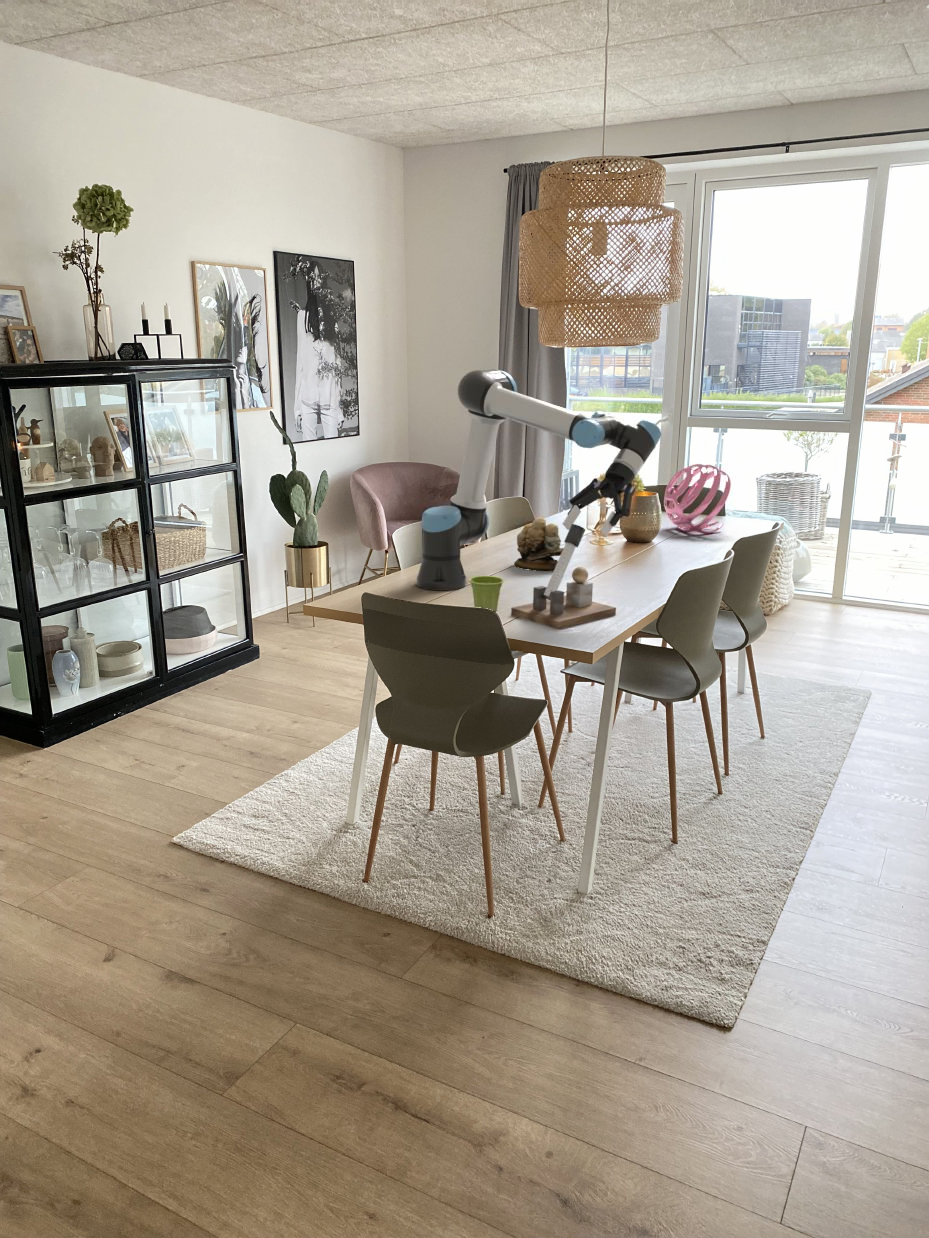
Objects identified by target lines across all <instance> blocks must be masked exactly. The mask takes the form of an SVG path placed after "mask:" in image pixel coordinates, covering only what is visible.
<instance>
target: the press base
mask: <svg viewBox="0 0 929 1238" xmlns="http://www.w3.org/2000/svg"><path fill="white" fill-rule="evenodd" d="M593 586H594V583H593V582H589V581H587V580H586V581H585V582H583V583H577V582H575V581H574V580H572V581H567V582H566V593H565V591H562V590H558V589H557V591H553V592H551V593H550V600H548V599H544V598H542V594H543V593H545V590H546V588H547V586H543V585H540V586H535V587H533V588H532V589H533V591H532V592H533V595H532V596H533V597H532V599H533V600H532V602H531V603H526V604H523V605H522V604H521V605H518V606H513V607H511V609H510V610H511V612H510V614H511V616H512V617H513V616H514V617H518V618H521V619H524V620H527V621H530V622H534V623H537V624H541V625H543V626H547V627H550V628H554V629H557V630H562V629H565V628H568V627H573V626H577V625H581V624H585V623H589V622H593V621H597V620H600V619H605V618H607V617H613V616H616V615H617V614H616V613H617V607H616V606H611V605H609V604H604V603H600V602H595V601H593V591H594V590H593ZM565 594H566V595H565Z"/></svg>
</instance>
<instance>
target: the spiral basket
mask: <svg viewBox="0 0 929 1238" xmlns="http://www.w3.org/2000/svg"><path fill="white" fill-rule="evenodd" d="M696 467H697V468H696ZM693 468H695V469H694V470H693ZM708 469H712V471H710V472H708ZM685 474H686V476H685V478H683V479H682V481H681V482H680V483H679V484H678V485H677V487H676V488H675V485H676V484H677V482H679V480H680V479H681V478H682V476H684V475H685ZM697 474H700V475H699V479H698V480H696V481H695V482H694V483H693V484H692V486H690V485H691V482H692V480H693V478H694V477H695V476H696V475H697ZM721 475H723V476H724V477H725V486H724V490H723V493H722V495H721V496H720V499H719V501H718V502H717V504H716V506H715V507H714V508H713V509H712V510H711V512H710V513H709V514H708V515H707V516H706V517H705V518H704V519H703V520H702V521H700V522H699V523H697V524H694V523H693V521H694V520H695V519H696V518H697V517H699V516H700V515H701V514H702V513H703V512H704V511H705V510H706V508H707V507H708V506H709V505H710V504H711V502H712V500H713V499H714V497H715V496H716V495H717V492H718V489H719V487H720V484H721V477H722V476H721ZM712 478H713V481H712V485H711V488H710V490H709V491H708V493H707V494H706V496H705V498H704V499H703V500H702V501H701V503H700V504H699V505H698V506H697V507H696V509H694V510H693V511H692V512H691V513H690V514H688V515H685V513H684V510H685V509H687V508H688V507H690V505H691V504H692V503H693V502H694V501H695V500H696V499H697V498H698V496H699V495H700V493H701V491H702V490H703V488H704V486H705V484H706V482H707V481H708V480H710V479H712ZM730 478H731V477H730V476H729V475H728V474H727V473H726V472H725V471H723V470H720V469H719V468H718V467H717V466H715V465H712V464H702V463H695V464H692V465H689V466H688V467H684V468H682V469H680V470H679V471H678V472H676V473H675V474H674V475H673V476H672V477H671V479H670V480H669V482H668V483H667V485H666V488H665V492H664V497H663V498H664V499H663V506H664V510H665V512H666V515H667V517H668V519H669V521H670V522H671V523H672V524H673V525H676V527H677V528H678V529H679V530H680V531H682V532H683V533H699V534H704V535H705V534H706V535H707V534H708V535H709V534H713V533H716V532H718V531H719V530H721V528H722V527H723V525H724V522H721V523H720V521H718V520H717V521H715V522H712V523H710V522H711V521H713V519H714V518H715V517H716V516H717V515H718V514H719V512H720V511H721V510H722V508H723V507H724V505H725V503H726V501H727V499H728V498H729V495H730V492H731V485H732V483H731V479H730ZM689 486H690V487H689ZM688 487H689V489H688ZM686 490H687V491H686ZM685 491H686V493H684V492H685ZM683 493H684V495H683ZM682 495H683V497H682V498H681V501H680V502H679V501H678V498H679V497H680V496H682ZM668 501H669V502H668ZM667 503H668V504H667ZM719 523H720V525H719V526H718V527H716V528H715V529H713V530H704V529H708V528H711V527H713V526H716V525H717V524H719Z"/></svg>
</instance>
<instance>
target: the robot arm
mask: <svg viewBox="0 0 929 1238" xmlns="http://www.w3.org/2000/svg"><path fill="white" fill-rule="evenodd" d="M517 388H518V387H517V384H516V381H515V380H514V378H513V376H512V375H511V374H509V373H508V372H506V371H503V370H500V369H493V368H492V369H482V370H481V369H478V370H477V369H476V370H471V371H469V372H468V373H466V374H465V375H463V376H462V377H461V379H460V381H459V383H458V387H457V396H458V399H459V401H460V403H461V404H462V405H461V406H463V407H464V408H465V409H467V414H469V416H470V417H471V419H470V420H471V421H470V425H469V430H468V434H467V435H468V436H467V439H466V444H465V450H464V454H463V460H462V464H461V470H460V474H459V480H458V485H457V489H456V493H455V494H454V495H453V496H451V497H450V499H449V505H439V506H433V507H429V508H428V509H426V510H424V511H423V513H422V516H421V517H422V518H421V553H422V554H421V555H422V558H421V559H422V560H421V563H420V566H419V570H418V574H417V576H416V585H417V587H418V588H421V589H423V590H424V589H425V590H433V591H452V590H457V589H462V588H465V586H467V578H466V577H467V576H466V573H465V571H464V566H463V563H462V560H461V546H463V545H468V544H473V543H475V542H477V541H479V540H480V539H481V538H482V537H484V536H485V534H486V533H487V531H488V528H489V525H490V520H489V519H490V518H489V515H488V514H487V508H488V506H487V503H486V502H485V500H484V499H485V494H486V489H487V483H488V480H489V479H488V478H489V475H490V469H491V465H492V461H493V456H494V451H495V446H496V443H497V442H496V441H497V436H498V432H499V428H500V424H502V423H503V422H505V421H506V419H509V420H511V421H514V422H517V423H520V424H522V425H526V426H529V427H532V428H534V429H537V430H539V431H543V432H546V433H550V434H552V435H554V436H558V437H561V438H564V439H567V440H569V441H572V442H574V443H575V444H576V445H577V446H578V447H580V448H584V449H594V448H596V447H599V446H605V445H609V446H612V447H614V448H617V449H619V452H618V453H617V455H616V456H615V457H614V458H613V461H612V462H611V464H610V465H609V467H608V468H607V469H606V471H605V475H604V479H602V481H600V480H598V478H596V477H595V478H593V479H592V480H591V482H590V483H589V484H587V486H585V487H584V488H583V489H581V490H580V491H579V492H578V493H577V494H575V495H574V496H572V498H571V499H569V503H570V505H571V508H570V510H569V511H568V512H567V516H566V518H565V519H564V520H563V522H562V525H563V526H564V527H565V529H566V530H567V531H569V529H570V527H571V525H572V524H575V523H576V522H575V521H576V520H577V518H578V517H579V516H580V514H581V513H582V511H581V510H582V509H583V508H586V507H587V506H589V505H590V504H592V503H593V502H595V501H597V500H602V499H604V498H605V499H611V500H613V505H614V511H611V512H610V514H609V515H608V517H607V519H606V520H605V521H604V523H603V525H602V526H601V528H599V532H600V534H601V535H602V536H603V538H607V537H608V535H609V533H610V532H611V531H612V529H613V527H616V525H617V524H618V522H619V521H620V519H622V518H623V517H626V518H628V517H630V515H631V509H632V501H633V495H634V493H635V492H636V488H635V487H634V485H633V484H632V483H633V481H634V480H635V478H636V477H637V475H638V473H639V472H640V470H641V469H642V468H643V466H644V464H645V463H646V461H647V460H648V458H649V456H651V454H652V453H653V451H654V450H655V449H656V446H657V444H658V443H659V441H660V439H661V437H662V432H661V429H660V428H659V426H658V425H657V424H656V423H654V422H652V421H651V420H647V419H646V420H644V419H643V420H640V421H639V422H638V423H636V424H634V423H630V422H628V421H625V420H623V419H622V418H621V419H620V418H619V417H617V416H613V415H611V414H610V413H607V412H604V411H601V410H598V411H595V412H594V413H593V414H591V416H588V415H586V414H582V413H580V412H577V411H575V410H574V411H573V410H571V409H569V408H568V409H567V408H564V407H561V406H558V405H555V404H552V403H550V402H546V401H543V400H541V399H537V398H534V397H531V396H528V395H525V394H522V393H519V392H518V389H517ZM622 494H623V499H622Z"/></svg>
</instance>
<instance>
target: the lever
mask: <svg viewBox="0 0 929 1238" xmlns="http://www.w3.org/2000/svg"><path fill="white" fill-rule="evenodd" d="M585 531H586V528H584V527H582V526H580V525H579V524H575V523H573V524H572V525H571V527H570V529H569V530H568V532H567V534H566V536H565V538H564V541H563V543H565V544H564V547H563V548H564V549H563V551H562V553H561V555H560V556H559V559H557V561H558V563H557V565H556V567H555V569H554V571H552V575H551V577H550V579H549V581H548V584H547V586H546V587H547V588H546V590H545V593H543V594H542V598H544V599H546V600H550V593H551V592H553V591H558V589H559V587H560V585H561V582H562V580H563V578H564V575H565V574H566V570H567V568H568V566H569V564H570V562H571V559H572V556H573V554H574V552H575V551H576V548H579V547H580V543H581V542H582V540H583V537H584V534H585Z"/></svg>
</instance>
